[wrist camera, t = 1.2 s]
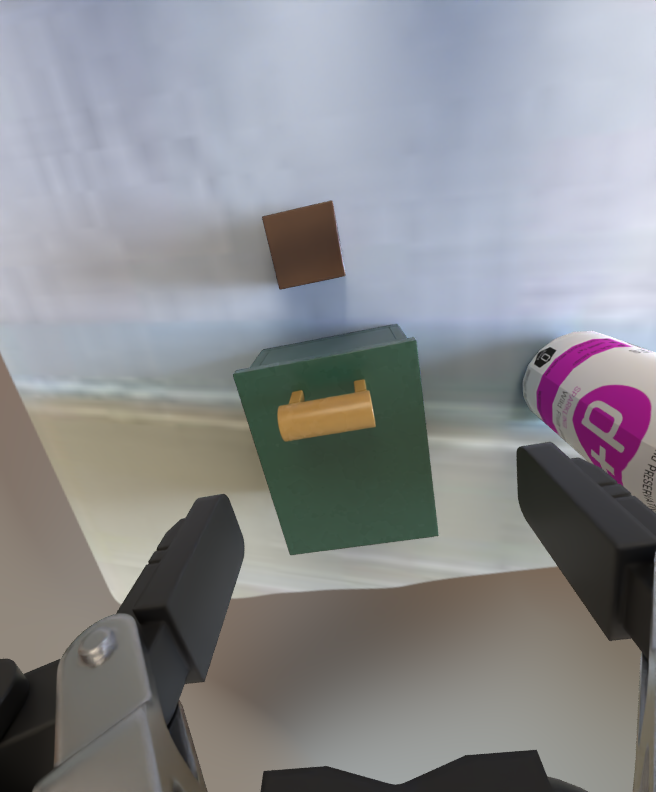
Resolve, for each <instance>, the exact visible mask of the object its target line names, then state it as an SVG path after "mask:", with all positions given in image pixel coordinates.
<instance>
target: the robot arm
mask: <svg viewBox="0 0 656 792" xmlns="http://www.w3.org/2000/svg"><path fill="white" fill-rule="evenodd" d="M517 483H518V500H519V504H520V508H521V511H522V513H523V515H524V517H525V519H526V521H527V522H528V524H529V525H530V527H531V528H532V530H533V531H534V533H535V534H536V535H537V537H538V538H539V540H540V541H541V543H542V544H543V546H544V547H545V548H546V550H547V551H548V553H549V554H550V556H551V557H552V559H553V560H554V561H555V563H556V564H557V566H558V567H559V569H560V570H561V571H562V573H563V575H564V576H565V577H566V579H567V580H568V582H569V583H570V584H571V586H572V587H573V589H574V590H575V592H576V593H577V595H578V596H579V598H580V599H581V601H582V602H583V604H584V605H585V606H586V608H587V609H588V611H589V612H590V614H591V615H592V617H593V618H594V619H595V621H596V622H597V624H598V625H599V627H600V628H601V630H602V631H603V632H604V634H605V635H606V637H607V638H608V640H609V641H612V640H621V639H631V638H632V639H633V641H634V642H635V643H636V645H637V646H638V647H639V649H640V650H641V651H642V654H641V661H640V681H639V701H638V702H639V703H638V722H637V741H636V760H635V773H634V784H633V792H656V513H655V512H654V511H652V510H651V509H650V508H649V507H648V506H646V505H645V504H644V503H643V502H642V501H640V500H639V499H638V498H637V497H635V496H632V495H631V492H629V491H628V490H627V489H626V488H625V487H623V486H622V485H621V484H618V483H617V481H616V480H615V479H614V478H613V477H611V476H610V475H609V474H608V473H607V472H605V471H604V470H603V469H602V468H601V467H598V466H596V465H594V464H592V463H589V462H587V461H585V460H583V459H580V458H572V459H570V458H569V457H568V456H566V455H565V454H564V453H563V452H562V451H561V450H560V449H559V448H558V447H557V446H555V445H554V444H553V443H551V442H546V443H540V444H534V445H528V446H521V447H519V448H518V449H517ZM243 558H244V539H243V535H242V533H241V530H240V527H239V524H238V522H237V519H236V516H235V514H234V511H233V508H232V506H231V503H230V500H229V498H228V497H227V495H225V494H220V495H214V496H208V497H202V498H198V499H197V500H196V501H195V502H194V504H193V506H192V508H191V509H190V511H189V513H188V514H187V516H186V518H184V519H180V520H179V521H178V522H177V523H176V524H175V525H174V526H173V527H172V528H171V529H170V530H169V531H168V532H167V533H166V534H165V536H164V537H163V539H162V540H161V542H160V544H159V545H158V547H157V551H155V552H154V553H153V555H152V557H151V558H150V560H149V561H148V562H149V564H148V565H146V566H145V568H144V569H143V571H142V573H141V574H140V576H139V578H138V579H137V581H136V582H135V584H134V586H133V587H132V589H131V590H130V592H129V594H128V595H127V597H126V598H125V600H124V602H123V603H122V605H121V606H120V608H119V610H118V611H117V613H116V614H115V615H111V616H108V617H105V618H103V619H101V620H99V621H98V622H96V623H94V624H93V625H91V626H90V627H89V628H87V629H86V630H84V631H83V632H82V633H81V634H80V635H79V636H78V637H77V638H76V639H75V640H74V641H73V642H72V643H71V645H70V646H69V647H68V648H67V650H66V651H65V653H64V654H63V656H62V658H61V659H59V660H56V661H54V662H51V663H49V664H47V665H44V666H42V667H40V668H37V669H35V670H32V671H30V672H27V673H25V674H23V673H22V672H21V670H20V669H19V668H18V666H17V665H16V664H15V662H14V661H12V660H10V659H0V792H207V788H206V785H205V782H204V778H203V775H202V771H201V768H200V764H199V761H198V757H197V754H196V751H195V747H194V744H193V740H192V737H191V733H190V730H189V727H188V723H187V720H186V716H185V713H184V709H183V706H182V704H181V702H180V700H179V698H180V695H181V693H182V689H183V687H184V684H187V683H197V682H204V681H205V678H206V675H207V672H208V669H209V666H210V663H211V659H212V656H213V653H214V650H215V647H216V644H217V641H218V637H219V634H220V631H221V628H222V625H223V621H224V618H225V615H226V612H227V609H228V606H229V602H230V600H231V596H232V593H233V590H234V587H235V584H236V581H237V578H238V574H239V571H240V568H241V565H242V562H243ZM261 792H588V791H586V790H583V789H582V788H580V787H577V786H575V785H572V784H569V783H567V782H564V781H562V780H559V779H555V778H551V777H547V775H546V773H545V770H544V767H543V765H542V762H541V760H540V757H539V755H538V752H537V750H529V751H515V752H503V753H491V754H479V755H478V754H477V755H465V756H463V757H461V758H459V759H457V760H454V761H452V762H450V763H448V764H446V765H443V766H441V767H439V768H436V769H435V770H432V771H430V772H428V773H426V774H423V775H421V776H419V777H416V778H414V779H412V780H410V781H408V782H405V783H403V784H397V785H393V784H388V783H385V782H381V781H378V780H374V779H370V778H367V777H363V776H360V775H356V774H353V773H349V772H346V771H342V770H339V769H335V768H331V767H328V766H324V767H310V768H299V769H285V770H272V771H264V773H263V779H262V786H261Z"/></svg>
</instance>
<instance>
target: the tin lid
mask: <svg viewBox="0 0 656 792" xmlns="http://www.w3.org/2000/svg"><path fill="white" fill-rule="evenodd" d="M233 377H234V380H235V383H236V386H237V390H238V393H239V396H240V399H241V402H242V405H243V408H244V412H245V415H246V418H247V421H248V424H249V427H250V430H251V434H252V437H253V440H254V443H255V446H256V449H257V452H258V456H259V459H260V462H261V465H262V468H263V471H264V474H265V478H266V481H267V484H268V487H269V490H270V493H271V496H272V500H273V503H274V506H275V509H276V512H277V515H278V518H279V522H280V525H281V528H282V531H283V534H284V537H285V540H286V544H287V547H288V550H289V553H290V555H296V554H303V553H311V552H319V551H327V550H334V549H342V548H350V547H357V546H365V545H373V544H381V543H388V542H396V541H404V540H411V539H419V538H427V537H434V536H438V526H437V518H436V509H435V500H434V491H433V482H432V474H431V465H430V456H429V447H428V438H427V430H426V421H425V412H424V403H423V394H422V386H421V377H420V368H419V359H418V350H417V342H416V339H415V338H414V337H412V338H406V339H401V340H396V341H390V342H385V343H380V344H374V345H369V346H364V347H358V348H353V349H348V350H342V351H337V352H332V353H326V354H321V355H316V356H310V357H305V358H300V359H294V360H289V361H284V362H278V363H273V364H268V365H262V366H257V367H252V368H246V369H241V370H236V371H235V372H234V374H233Z"/></svg>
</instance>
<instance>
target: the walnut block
mask: <svg viewBox="0 0 656 792" xmlns="http://www.w3.org/2000/svg"><path fill="white" fill-rule="evenodd" d="M262 220H263V224H264V228H265V232H266V236H267V240H268V244H269V248H270V252H271V256H272V260H273V265H274V269H275V273H276V277H277V281H278V285H279V289H285V288H290V287H295V286H300V285H305V284H309V283H314V282H319V281H324V280H329V279H333V278H338V277H343V276H345V275H346V274H345V268H344V262H343V256H342V251H341V245H340V239H339V234H338V228H337V222H336V217H335V211H334V205H333V201H327V202H323V203H318V204H314V205H310V206H306V207H301V208H297V209H293V210H288V211H284V212H280V213H275V214H271V215H267V216H263V217H262Z"/></svg>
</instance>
